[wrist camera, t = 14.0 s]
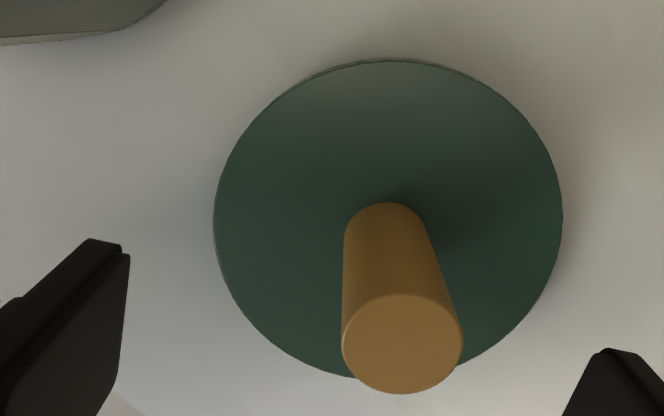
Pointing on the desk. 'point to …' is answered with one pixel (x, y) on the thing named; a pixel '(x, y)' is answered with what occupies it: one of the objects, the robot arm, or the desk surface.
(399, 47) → the desk surface
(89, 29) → the tin
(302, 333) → the lid
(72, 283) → the robot arm
